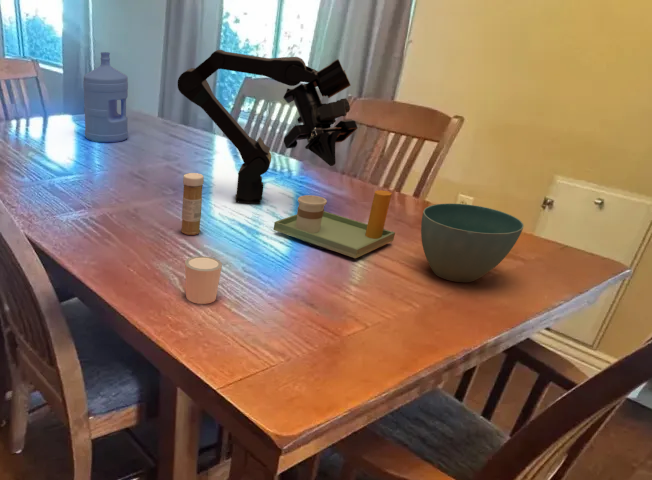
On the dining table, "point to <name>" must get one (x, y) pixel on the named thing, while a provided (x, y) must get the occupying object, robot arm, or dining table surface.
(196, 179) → the sprinkles bottle
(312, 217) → the beige banded cup
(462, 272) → the dark green bowl
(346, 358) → the dining table surface
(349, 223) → the tray
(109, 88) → the water jug
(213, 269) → the peach tapered cup
